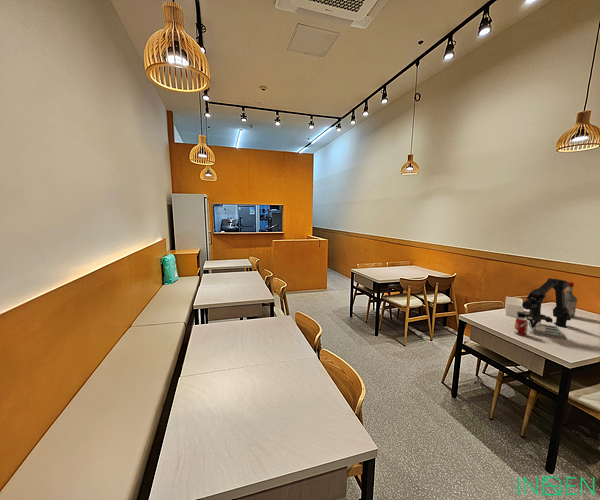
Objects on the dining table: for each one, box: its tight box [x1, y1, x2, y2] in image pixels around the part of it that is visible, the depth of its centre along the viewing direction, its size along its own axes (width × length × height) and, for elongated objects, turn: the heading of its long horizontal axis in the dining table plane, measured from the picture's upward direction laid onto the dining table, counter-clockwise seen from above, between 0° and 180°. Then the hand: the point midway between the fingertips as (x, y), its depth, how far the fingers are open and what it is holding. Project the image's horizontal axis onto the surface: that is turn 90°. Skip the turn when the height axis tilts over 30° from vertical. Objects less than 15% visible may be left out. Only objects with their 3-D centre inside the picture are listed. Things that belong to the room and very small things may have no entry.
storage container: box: [504, 295, 525, 318], centre depth 217 cm, size 25×11×11 cm, turn 141°
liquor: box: [564, 281, 578, 319], centre depth 210 cm, size 9×9×30 cm
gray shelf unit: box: [528, 321, 566, 340], centre depth 182 cm, size 19×16×2 cm
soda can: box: [513, 317, 529, 336], centre depth 177 cm, size 7×7×12 cm
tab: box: [536, 325, 546, 332], centre depth 179 cm, size 3×4×5 cm
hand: (532, 327), depth 182 cm, fingers closed
